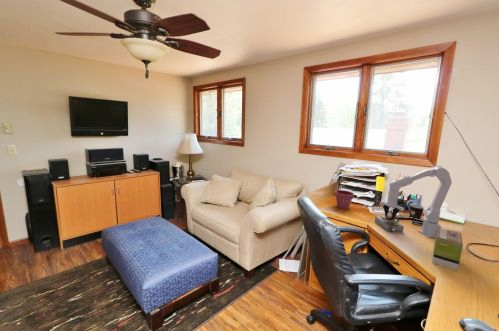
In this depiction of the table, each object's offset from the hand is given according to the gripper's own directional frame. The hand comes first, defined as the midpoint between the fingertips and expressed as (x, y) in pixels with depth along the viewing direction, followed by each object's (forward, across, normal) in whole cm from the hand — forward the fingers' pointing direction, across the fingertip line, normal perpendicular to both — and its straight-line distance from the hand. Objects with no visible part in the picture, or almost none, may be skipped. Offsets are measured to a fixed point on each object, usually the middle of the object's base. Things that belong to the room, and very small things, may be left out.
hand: (389, 217), depth 159 cm
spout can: (+2, 0, 0) cm, 2 cm away
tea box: (+6, -37, +18) cm, 42 cm away
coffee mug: (+6, -2, -32) cm, 33 cm away
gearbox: (+6, 0, +1) cm, 6 cm away
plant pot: (+6, +39, -4) cm, 40 cm away
